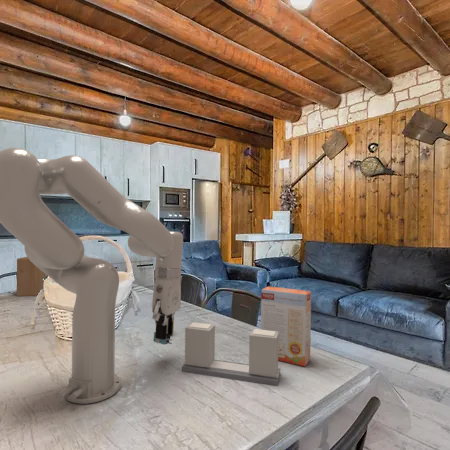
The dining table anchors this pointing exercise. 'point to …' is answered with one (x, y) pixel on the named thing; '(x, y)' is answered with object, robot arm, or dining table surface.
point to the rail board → (253, 372)
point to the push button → (166, 334)
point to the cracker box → (288, 322)
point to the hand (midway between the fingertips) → (163, 336)
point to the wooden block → (28, 278)
